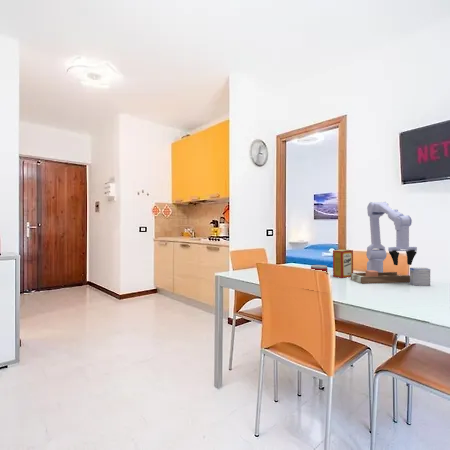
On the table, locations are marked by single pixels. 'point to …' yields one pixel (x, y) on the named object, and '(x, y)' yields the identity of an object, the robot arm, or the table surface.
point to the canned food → (319, 267)
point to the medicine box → (420, 276)
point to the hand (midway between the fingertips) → (402, 264)
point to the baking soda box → (342, 263)
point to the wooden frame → (380, 278)
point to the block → (371, 273)
